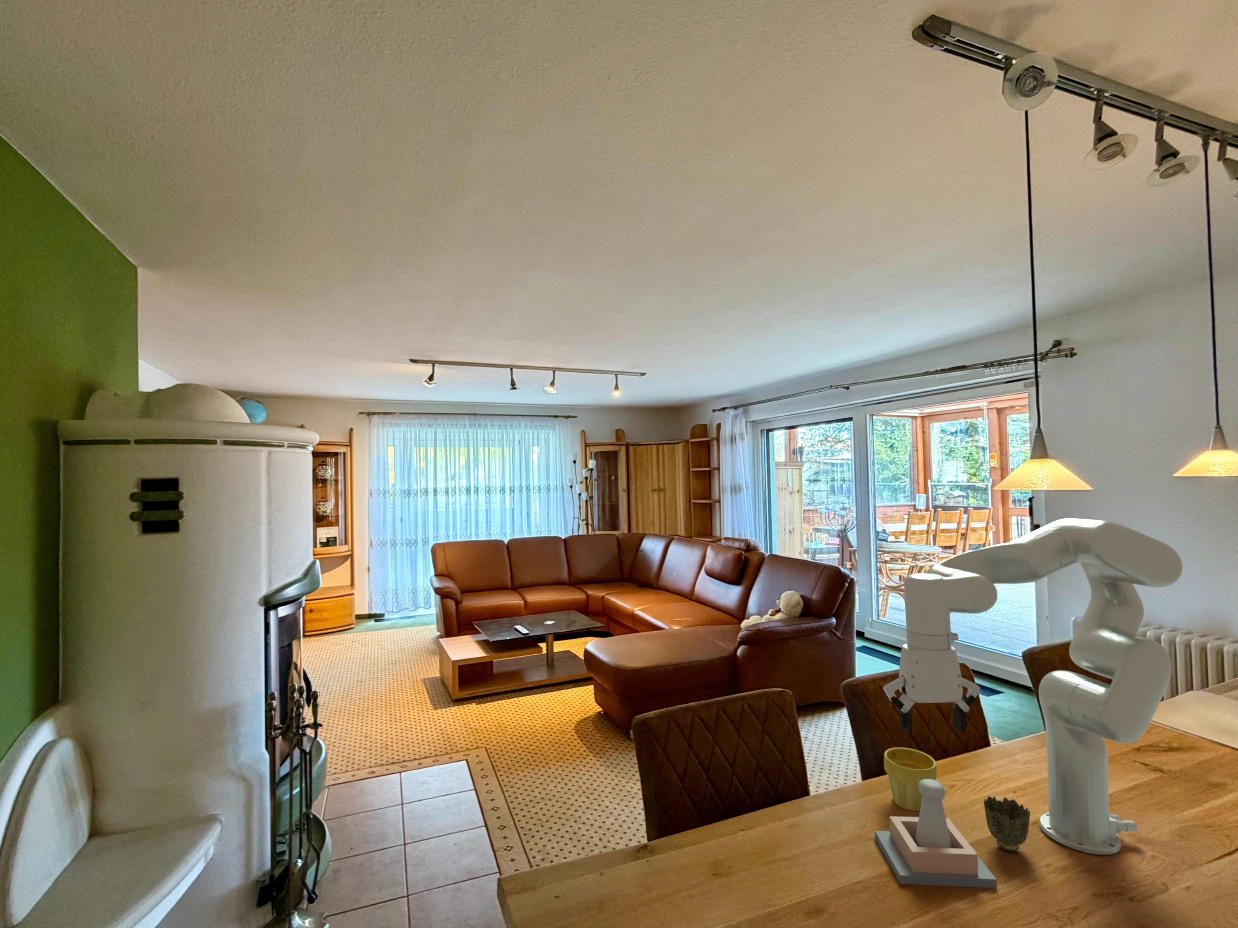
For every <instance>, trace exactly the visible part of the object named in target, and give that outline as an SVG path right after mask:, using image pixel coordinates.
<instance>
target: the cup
mask: <svg viewBox="0 0 1238 928" xmlns="http://www.w3.org/2000/svg"><path fill="white" fill-rule="evenodd" d="M983 807H984V813H985V819H986V825H987V828H988V830H989V832H990V834H991V835H992V837H993V838H994V839H996V840H995V842H996V845H997V847H998V848H999V849H1001V850H1002V851H1003V852H1007V853H1018V851H1019V850H1020V845H1023V844H1024V843H1025V842H1026V840H1027V837H1028V835H1029V828H1030V819H1031V812H1030V810H1029V808H1028V807H1026V808H1025V806H1024V805H1023V803H1021V804H1019V803H1018V802H1017V801H1016V799H1008V798H1007V797H1003V799H1002V800H1001V799H999V800H998V799H996V796H990V795H989V796H987V798H984V800H983Z"/></svg>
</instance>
